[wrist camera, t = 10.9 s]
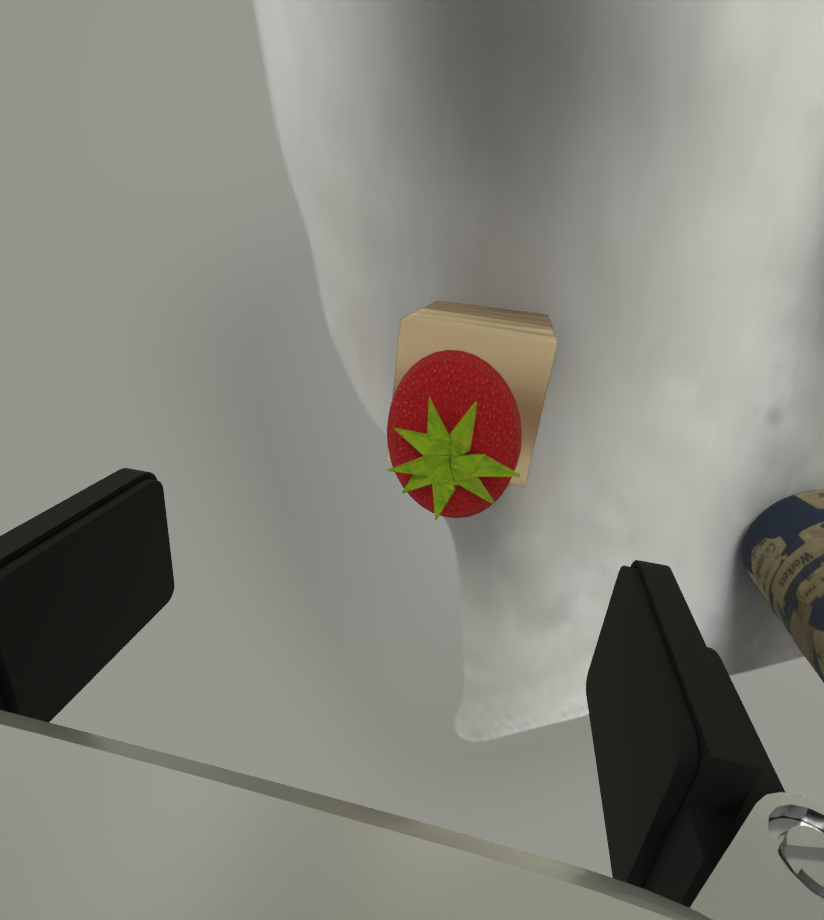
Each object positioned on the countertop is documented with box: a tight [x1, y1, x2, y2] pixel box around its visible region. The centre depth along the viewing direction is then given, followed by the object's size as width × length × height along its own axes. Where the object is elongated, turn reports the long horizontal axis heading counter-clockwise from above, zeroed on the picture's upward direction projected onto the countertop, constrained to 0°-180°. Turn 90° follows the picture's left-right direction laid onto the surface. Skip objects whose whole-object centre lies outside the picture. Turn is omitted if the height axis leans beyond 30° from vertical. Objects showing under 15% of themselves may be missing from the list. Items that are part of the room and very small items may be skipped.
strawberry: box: [387, 350, 522, 519], centre depth 23 cm, size 6×8×10 cm
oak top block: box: [386, 308, 557, 486], centre depth 30 cm, size 8×8×6 cm
